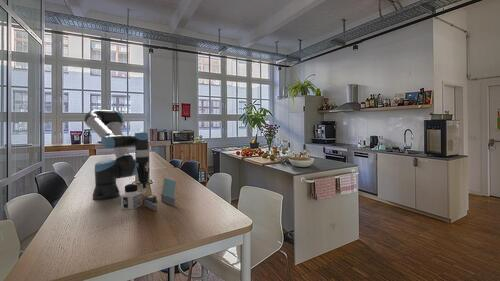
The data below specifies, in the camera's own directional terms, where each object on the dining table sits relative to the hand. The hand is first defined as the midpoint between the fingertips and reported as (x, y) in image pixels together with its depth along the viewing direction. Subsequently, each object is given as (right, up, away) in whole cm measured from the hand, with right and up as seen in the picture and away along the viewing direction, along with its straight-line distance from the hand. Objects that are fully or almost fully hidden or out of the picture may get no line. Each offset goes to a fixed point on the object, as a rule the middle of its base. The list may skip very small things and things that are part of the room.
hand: (143, 192), depth 155 cm
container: (0, -5, -15) cm, 16 cm away
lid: (+19, +5, -9) cm, 22 cm away
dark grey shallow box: (+15, -5, -13) cm, 20 cm away
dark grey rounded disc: (+7, -4, -6) cm, 10 cm away
